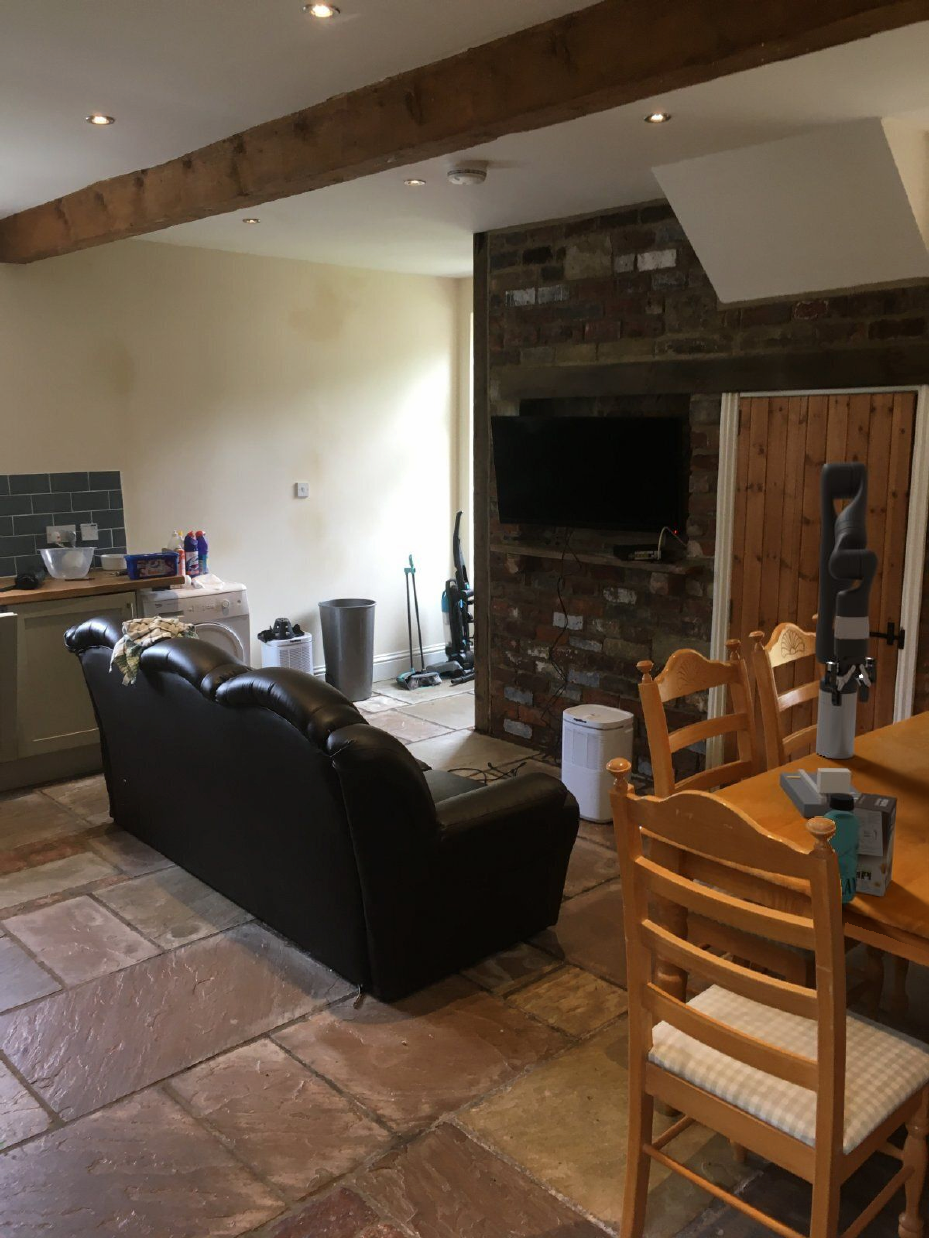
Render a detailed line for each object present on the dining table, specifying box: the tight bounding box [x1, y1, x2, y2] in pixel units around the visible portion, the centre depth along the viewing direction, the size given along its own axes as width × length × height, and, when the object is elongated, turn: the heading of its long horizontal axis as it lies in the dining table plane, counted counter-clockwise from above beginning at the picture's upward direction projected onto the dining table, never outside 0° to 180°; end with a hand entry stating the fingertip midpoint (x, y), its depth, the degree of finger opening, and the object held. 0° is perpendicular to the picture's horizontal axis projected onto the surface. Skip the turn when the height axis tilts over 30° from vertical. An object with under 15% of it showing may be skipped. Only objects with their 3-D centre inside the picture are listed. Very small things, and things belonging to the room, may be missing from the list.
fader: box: [816, 767, 852, 801], centre depth 219 cm, size 3×6×6 cm, turn 86°
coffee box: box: [853, 792, 898, 897], centre depth 182 cm, size 9×6×16 cm
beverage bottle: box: [821, 793, 860, 904], centre depth 175 cm, size 6×7×20 cm
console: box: [779, 768, 862, 818], centre depth 226 cm, size 21×14×4 cm, turn 176°
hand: (850, 703), depth 234 cm, fingers open, 8 cm apart
